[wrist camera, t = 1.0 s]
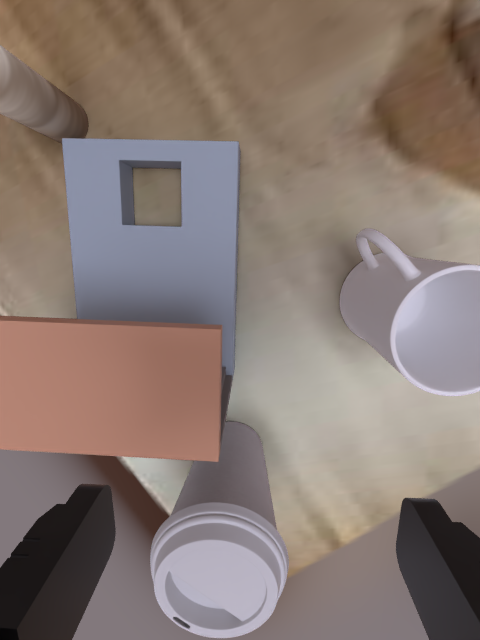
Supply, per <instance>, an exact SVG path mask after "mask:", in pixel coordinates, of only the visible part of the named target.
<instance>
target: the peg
mask: <svg viewBox="0 0 480 640" xmlns="http://www.w3.org/2000/svg"><path fill="white" fill-rule="evenodd" d="M0 114H2V115H4V116H6V117H8V118H10V119H13V120H15V121H17V122H19V123H21V124H23V125H25V126H27V127H29V128H31V129H33V130H35V131H37V132H39V133H41V134H43V135H45V136H47V137H50V138H52V139H54V140H56V141H58V142H60V143H62V138H76V139H84V138H85V136H86V134H87V131H88V118H87V115H86V113H85V111H84V109H83V108H82V107H81V106H80V105H79V104H78V103H77V102H75V101H74V100H73V99H71V98H70V97H69V96H67V95H66V94H65V93H63V92H62V91H61V90H59V89H58V88H57V87H55V86H54V85H53V84H51V83H50V82H49V81H47V80H46V79H45V78H43V77H42V76H41V75H39V74H38V73H37V72H35V71H34V70H33V69H31V68H30V67H29V66H27V65H26V64H25V63H23V62H22V61H21V60H19V59H18V58H17V57H15V56H14V55H13V54H11V53H10V52H9V51H7V50H6V49H5V48H3V47H2V46H1V45H0Z"/></svg>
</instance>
